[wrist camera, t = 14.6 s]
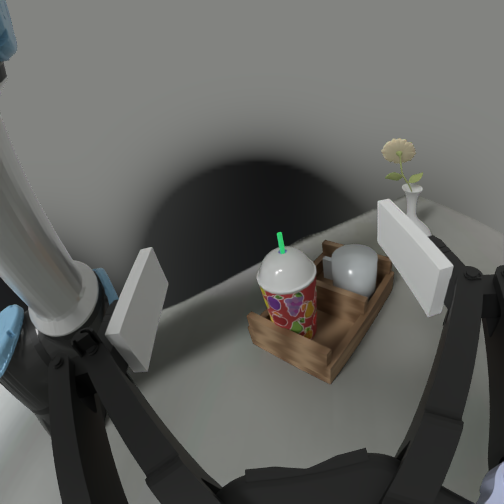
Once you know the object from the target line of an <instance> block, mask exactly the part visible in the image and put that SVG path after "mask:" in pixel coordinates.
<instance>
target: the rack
mask: <svg viewBox="0 0 504 504" xmlns="http://www.w3.org/2000/svg"><path fill="white" fill-rule="evenodd" d="M342 246H344V245H342V244H338V243H334V242H331V241H327V240H325V241H324V242H323V243H322V248H323V253H322V254H321V255H320V256H319V257H318V258H317V259H316V260H315V261H314V262H313V263H314V264H315V266H316V272H317V273H316V296H317V330H316V333H315V336H314V337H313V338H312V340H310V339H308V338H306V337H304V336H301V335H299V334H297V333H295V332H293V331H291V330H289V329H287V328H282V327H280V326H277V325H276V324H275V323H274V322H272V321H271V318H270V315H269V312H268V309H266V310H265V311H264V312H263V313H262V314H261V315H258V314H256V313H254V312H252V311H251V312H250V313H249V314H248V315H247V320H248V323H249V326H248V329H249V332H250V335H251V338H252V341H253V344H255V345H257V346H259V347H260V348H262V349H264V350H266V351H268V352H269V353H271V354H273V355H275V356H277V357H278V358H280V359H282V360H284V361H286V362H288V363H290V364H292V365H293V366H295V367H297V368H299V369H301V370H303V371H305V372H307V373H309V374H311V375H313V376H315V377H317V378H319V379H321V380H323V381H325V382H327V383H329V384H331V383H332V382H333V380H334V379H335V378H336V376H337V375H338V373H339V372H340V371H341V369H342V368H343V366H344V365H345V364H346V362H347V361H348V359H349V358H350V356H351V355H352V353H353V352H354V351H355V349H356V348H357V346H358V345H359V343H360V342H361V340H362V338H363V337H364V335H365V334H366V332H367V331H368V329H369V328H370V326H371V324H372V323H373V321H374V320H375V318H376V316H377V315H378V313H379V311H380V310H381V308H382V306H383V305H384V303H385V301H386V300H387V298H388V296H389V294H390V293H391V291H392V286H393V278H394V272H392V271H391V269H392V261H391V260H390V259H389V257H386V256H382V255H379V254H377V257H378V260H377V277H376V291H375V293H374V294H373V296H372V298H371V299H370V301H369V302H368V297H365V296H362V295H359V294H356V293H353V292H351V291H348V290H345V289H342V288H339V287H336V286H333V280H330V279H327V278H324V271H323V258H324V257H325V256H327V257H332V254H333V252H334V251H335V250H336V249H338V248H339V247H342ZM367 302H368V304H367Z"/></svg>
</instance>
